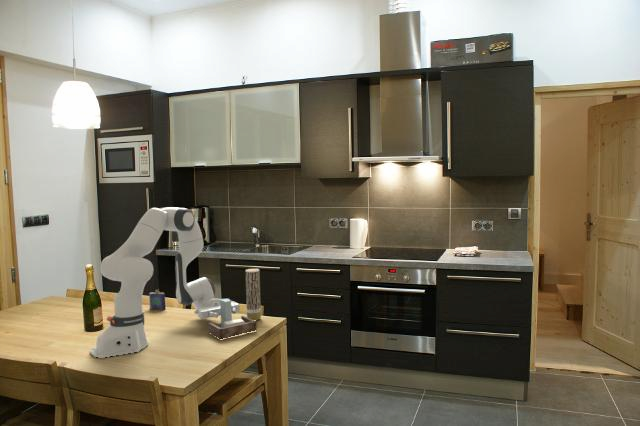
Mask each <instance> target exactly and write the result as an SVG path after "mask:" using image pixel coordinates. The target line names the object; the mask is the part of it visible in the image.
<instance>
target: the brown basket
mask: <svg viewBox="0 0 640 426" xmlns="http://www.w3.org/2000/svg"><path fill="white" fill-rule="evenodd" d="M240 319H242V320H243V321H244V323H243V324H238V325H234V326H229V327H225V328H221V326H217V324H214V323H212V322H208V324H207V325H208V334H209V333H211V334H212V335H214V336H216V337H218V338H219V339H223V338H228V337H231V336H235V335H239V334H242V333H247V332H251V331H255V330H257V321H254V320H252V319H250V318H248V317H247V316H245V315H241V316H240ZM212 335H211V336H212ZM219 339H218V340H219Z"/></svg>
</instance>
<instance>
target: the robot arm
mask: <svg viewBox="0 0 640 426" xmlns="http://www.w3.org/2000/svg"><path fill="white" fill-rule="evenodd" d="M164 231H169V232H176V233H177V238H178V241H179V242H178V243H179V249H178V252H177V253H176V255H175V259H174V261H175V262H174V269H175V298H176V300H177V302H178V303H179V304H180V305H183V306H190V305H191V304H193V307H194V308H195V309H196V310H194V311H193V312H194V314H195V315H197V317H198V318H200V319H203V320H204V319H209V318H218V317H219V316H221V305H220V300H223V299H224V298H217V297H216V287H215V284H214V282H213V281H212V280H211V279H210V278H208V277H206V276H204V277H200V278H198V279H195V280H193V281H190V282H187V267H188V265H190V263H191V262H192V261H194V259H196V258H197V257H198V256H199V255H200V254H201V253H202V251H203V250H204V238H203V234H202V231H201V228H200V225H199V222H198V221H197V218H196V217H195V214H194V213H193V211H192V210H190V209H189V208H185V207H174V206H170V207H169V206H168V207H167V206H166V207H160V208H158V207H151V208H149V209H148V210H147V211H145V213H144V214H143V216H142V217H141V218H140V219H139V220H138V222H137V223H136V225H135V227H134V228H133V231H132V232H131V234H130V235H129V237H128V238H127V240H126V241H125V242H124V243H123V244H122V245H121V246H120V247H119V248H117V249H116V250H115V251H114V252H113V253H111V254H110V255H108V256H106V257H104V258H103V260H102V261H101V262H100V265H99V271H100V273H101V275H102V276H103V277H104V278H107V279H108V280H110V281H115V282H116V281H117V282H120V283H121V285H120V290H119V291H118V293H115V296H113V305H114V306H113V308H114V315H113V316H111V315H108V316H107V317H106V321H108V322H109V324H110V325H108V326H107V328H105V329H104V330H103V331H102V332H101V333H100V334H99V335H98V336H97V338H96V345H95V346H93V347H92V348H90V355H91V354H92V355H93V356H92V355H91V356H92V357H94V358H96V357H98V358H97V359H106V358H105V357H107V358H111V357H110V356H113V357H117V356H116V355H119V356H124V355H123V354H125V355H129V354H128V353H131V354H135V353H134V352H137V353H140V352H141V351H142V350H143V349H146V348H147V347H148V346H149V341H148V339H147V335H146V331H145V314H144V313H145V312H144V311H143V293H144V289H145V286H146V285H147V283H148V281H150V280H151V278H152V277H153V275H154V265H153V263H152V262H151V261H150V260H149V259H147V258H144V257H145V256H147V255H149V254H150V253H152V251H153V250H154V249H155V246H156V245H157V243H158V241H159V239H160V238H161V236H162V234H163V232H164ZM215 297H216V298H215ZM227 299H228V300H230V301H231V312H232V315H233V314H237V313H238V312H239V311H240V309H241V307H240V304H239V303H238V302H236V301H233V300H231V299H230V298H227ZM239 313H240V312H239ZM147 345H148V346H147ZM146 346H147V347H146ZM141 349H142V350H141ZM140 350H141V351H140ZM139 351H140V352H139Z"/></svg>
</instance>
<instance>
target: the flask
mask: <svg viewBox="0 0 640 426" xmlns="http://www.w3.org/2000/svg"><path fill="white" fill-rule="evenodd" d="M148 296H149V298H148V299H149V310H156V311H157V310H158V311H165V310H166V294H165V292H160V291H159V289H155V292H149V293H148Z"/></svg>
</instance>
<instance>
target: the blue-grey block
mask: <svg viewBox="0 0 640 426" xmlns="http://www.w3.org/2000/svg"><path fill="white" fill-rule="evenodd" d="M222 299H223V300H220V305H221V315H220V328H224V322H225V321H231V320H233V319H232V318H233V317H232V315H233V313H232V312H231V301H232V300H231V299H230V300H228V299H229V298H222Z"/></svg>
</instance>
